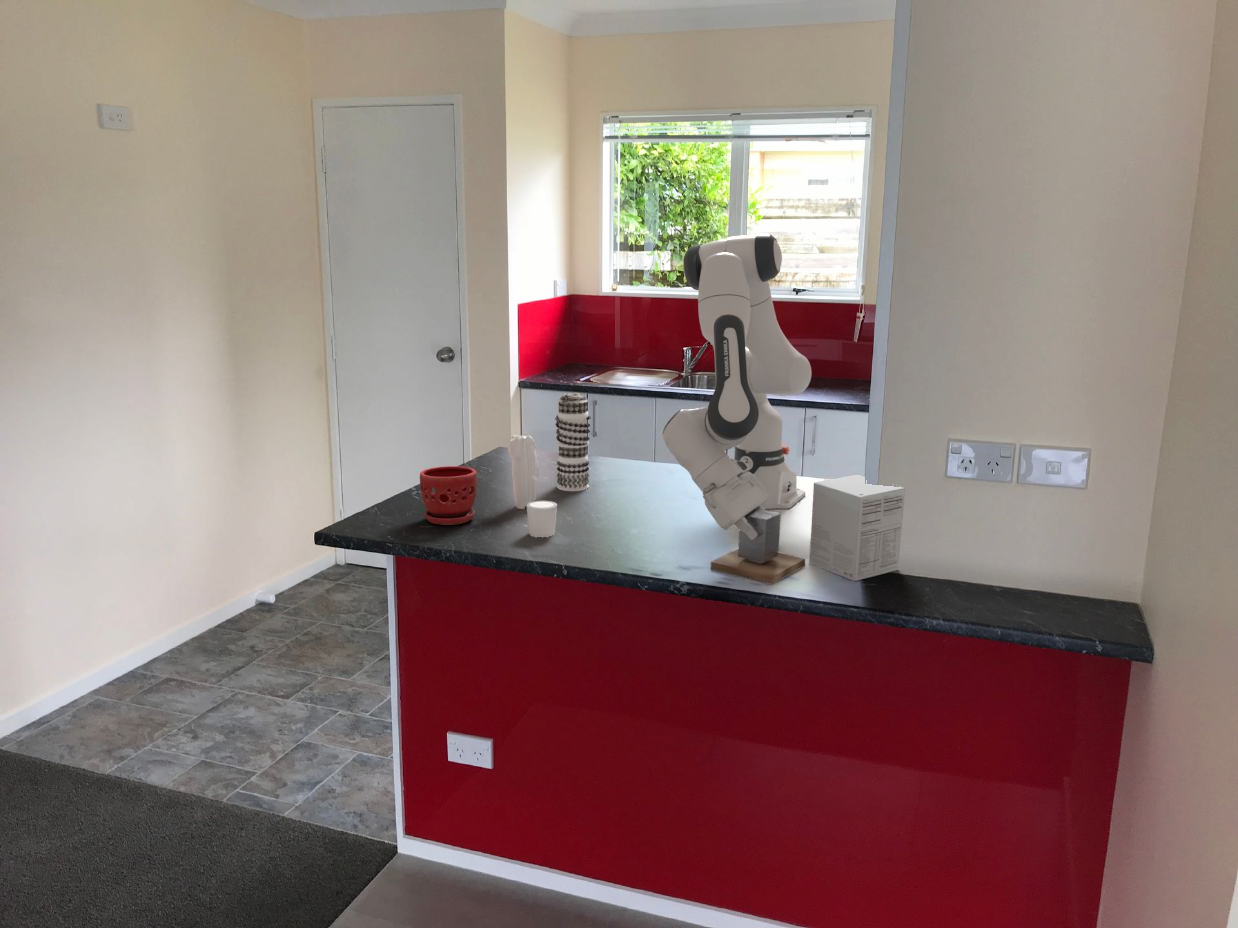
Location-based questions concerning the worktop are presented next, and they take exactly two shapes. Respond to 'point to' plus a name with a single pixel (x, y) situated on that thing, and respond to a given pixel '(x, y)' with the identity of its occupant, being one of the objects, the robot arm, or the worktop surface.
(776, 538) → the grey rectangular block
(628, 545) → the worktop surface
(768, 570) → the tang block
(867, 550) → the supplement box
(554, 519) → the white short cylinder
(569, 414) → the decorative candle
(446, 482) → the plant pot
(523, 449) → the white figurine
